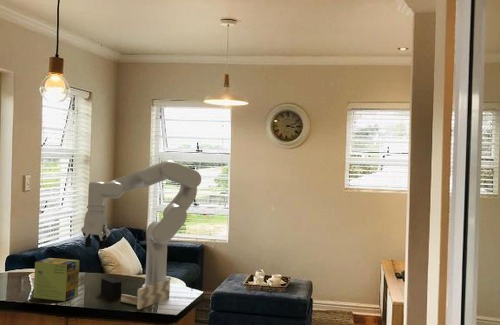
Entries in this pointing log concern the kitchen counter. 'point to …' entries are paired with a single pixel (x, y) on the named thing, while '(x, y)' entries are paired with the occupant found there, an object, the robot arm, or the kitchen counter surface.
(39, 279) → the protein box
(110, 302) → the kitchen counter surface
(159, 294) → the display bay
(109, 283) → the digital camera
